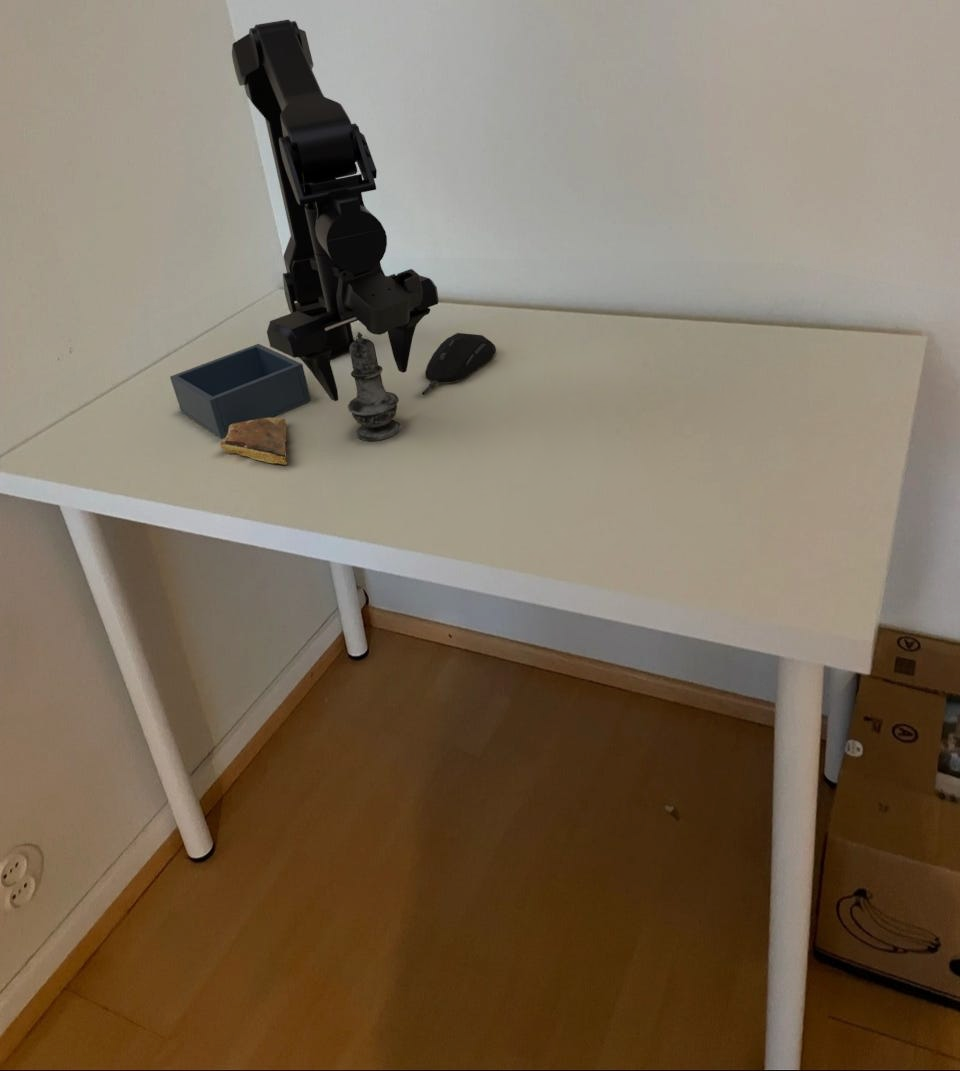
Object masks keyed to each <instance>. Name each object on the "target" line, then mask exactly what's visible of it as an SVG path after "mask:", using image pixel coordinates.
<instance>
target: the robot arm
mask: <svg viewBox="0 0 960 1071" xmlns="http://www.w3.org/2000/svg"><path fill="white" fill-rule="evenodd" d="M231 57H232V63H233V68H234V72H235V76H236V80H237V82H238V85H239V86H243V87H244V90H245V94H246V96H247V98H248V99H249V101H250V102H251V103H252V105H253V106H254V108H255V109H256V110H257V111H258V112H259V113H260V114H261V116H263V118H264V120H265V124H266V128H267V133H268V138H269V143H270V148H271V151H272V156H273V160H274V165H275V169H276V174H277V179H278V184H279V188H280V192H281V198H282V202H283V206H284V211H285V214H286V215H285V216H286V219H287V225H288V229H289V234H290V237H289V240H288V242H287V245H286V247H285V251H284V253H283V262H284V267H285V271H286V272H284V273H282V283H283V290H284V298H285V301H286V304H287V308H288V310H289V312H290V313H289V314H285V315H283V316H280V317H277V318H274V319H271V320H269V324H268V326H267V330H266V335H267V340H268V343H269V347H270V348H272V349H274V350H276V351H278V352H281V353H283V354H286V355H288V356H290V357H292V358H295V359H296V358H299V359H300V360H301V361H302V362H303V363H304V365H305V366H306V367H307V368H308V370H309V371H310V372H311V373H312V375H313V377H314V378H315V379H316V381H317V382H318V383H319V386H321V388H322V389H323V390H324V392H325V393H326V394H327V396H328V397H329V399H330V400H331V401H334V402H338V401H339V393H338V387H337V383H336V379H335V375H334V372H333V368H332V365H331V361H330V360H331V359H333V358H336V357H338V356H341V355H344V354H347V353H350V351H349V348H350V345H351V344H352V343H353V342H354V341H355V339H354V335H353V330H352V323H354V322H357V321H358V322H360V323H361V324H362V325H363V326H364V327H365V328H366V331H368V332H369V333H370V334H372V335H377V336H380V335H383V334H386V333H387V335H388V340H389V343H390V347H391V352H392V356H393V359H394V362H395V364H396V367H397V370H398V371H399V372H400V373H403V374H404V373H407V370H408V364H409V359H410V353H411V348H412V343H413V338H414V335H415V331H416V328H417V325H418V324H419V323H420V321H421V320H422V319H423V318H424V317H425V316H427V315H429V314H430V313H431V307H433V306H436V305H438V304H439V302H440V299H439V292H438V287H437V285H436V284H435V282H434V281H433V280H432V279H431V278H430V277H427V276H423V275H420V274H419V273H418V272H416V271H415V270H414V269H413V268H409V269H407V270H404V271H401V272H398V273H397V274H395V273H393V274H390V275H386V274H385V272H384V270H383V267H382V264H381V261H382V260H383V258H384V256H385V253H386V252H387V245H388V238H387V237H388V236H387V232H386V230H385V228H384V226H383V224H382V222H381V221H380V220H379V219H378V217H376V216H375V215H374V214H373V213H372V212H371V211H369V210H368V209H367V207H366V206H365V202H364V200H363V199H364V198H363V193H367V192H371V191H376V190H377V185H376V181H375V179H377V175H378V174H377V172H378V170H377V167H376V165H375V161H374V159H373V156H372V153H371V149H370V148H369V145H368V142H367V140H366V136H365V134H363V133H362V132H361V131H360V128H359V125H357V123H356V122H355V123H352V121H351V119H350V117H349V116H348V113H347V112H346V109H344V107H343V105H342V103H340V102H338V101H336V100H333V99H331V98H329V97H326V96H324V94H323V91H322V90H321V89H322V88H321V87H320V85H319V83H318V80H317V77H316V75H315V73H314V71H313V68H314V66H315V65H314V61H313V57H312V53H311V49H310V45H309V39H308V37H307V32H306V31H305V30H303V29H301V28H299V26H298V23H297V21H296V20H294V21H293V20H292V21H291V20H290V19H283V20H277V21H270V22H264V23H258V24H255V25H254V26H253V27H250V28H249V30H248V33H247V34H246V35H244V36H242V37H241V38H239V39H237V40H236V41H234V42H233V43H232V47H231ZM357 166H358V167H357ZM358 169H359V171H360V173H359V174H357V173H358Z"/></svg>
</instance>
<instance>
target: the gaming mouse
mask: <svg viewBox="0 0 960 1071" xmlns="http://www.w3.org/2000/svg"><path fill="white" fill-rule="evenodd" d="M496 354H497V348H496V344H494V342H492V341H491V340H490V339H489V338H487V337H485V336H484V335H483V334H475V333H466V332H465V333H463V332H456V333H454V334H452V335H451V336H449V337H447V338H445V340H443V342H442V343H440V344H439V346H438V347H437V348H436V350H435V351H434V352H433V354H432V355H431V357H430V359H429V360H428V363H427V365H426V369H425V373H424V374H425V379H427V380H428V381H431V382H430V383H429V384H428V386H427V387H426V388H425V389H424V390H423V391H422V392H421V395H422V396H425V395H426V394H427V393H428V392H429V391H430V390H431V389H434V388H435V387H436V385H438V383H441V384H446V383H447V384H448V383H451V384H452V383H457V382H460V381H462V380H464V379H466V378H467V377H470V375H472V374H473V373H475V372H477V370H479V369H480V368H482V367H483V366H486V365H487V363H489V362H490V361H492V360H493V358H494V357H495V355H496Z"/></svg>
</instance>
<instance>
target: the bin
mask: <svg viewBox="0 0 960 1071" xmlns="http://www.w3.org/2000/svg"><path fill="white" fill-rule="evenodd" d="M169 378H170V379H169V380H170V381H171V384H172V387H173V391H174V393H175V398H176V400H177V403H178V407H179V409H180V413H182V414H183V415H184V416H186V417H188V418H189V419H190V420H192V421H194V422H195V423H196V424H199V425H200V426H202V427H203V428H204V429H206V430H207V431H209V432H211V433H212V434H214V435H215V436H216V437H218V438H220V439H224V438H226V436H227V434H228V430H229V426H230V425H231V424H233V423H238V422H244V421H250V420H256V419H260V418H268V417H271V418H275V417H276V416H278V415H281V414H284V413H286V412H288V411H290V410H293V409H295V408H298V407H300V406H302V405H305V404H308V403H310V402H312V397H311V394H310V390H309V385H308V381H307V377H306V374H305V368H304V365H303V363H301V362H299V361H297V360H295V359H293V358H291V357H288V356H286V355H284V354H282V353H279V351H278V352H277V351H275V350H273V349H271V348H269V347H267V346H265V345H262V344H260V343H256V344H254V345H251V346H247V347H246V348H242V349H240V350H238V351H235V352H232V353H229V354H227V355H223V356H222V357H219V358H215V359H213V360H210V361H208V362H205V363H202V364H199V365H197V366H195V367H194V366H193V367H192V368H189V369H186V370H184V371H181V372H179V373H175V374H172V375H170V376H169Z"/></svg>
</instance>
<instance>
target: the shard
mask: <svg viewBox="0 0 960 1071" xmlns="http://www.w3.org/2000/svg"><path fill="white" fill-rule="evenodd" d="M286 442H287V424H286V419H285V418H283V417H268V418H260V419H256V420H250V421H244V422H238V423H233V424H231V425H230V426H229V430H228V434H227V436H226V437H224V439H223V441H221V442H220V444H219V446H220V448H221V449H222V451H224V452H226V453H227V454H237V455H240V456H242V457H248V458H250V459H252V460H255V461H260V462H264V463H266V464H278V465H284V466H285V465H287V464H288V462H287V452H286Z"/></svg>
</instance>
